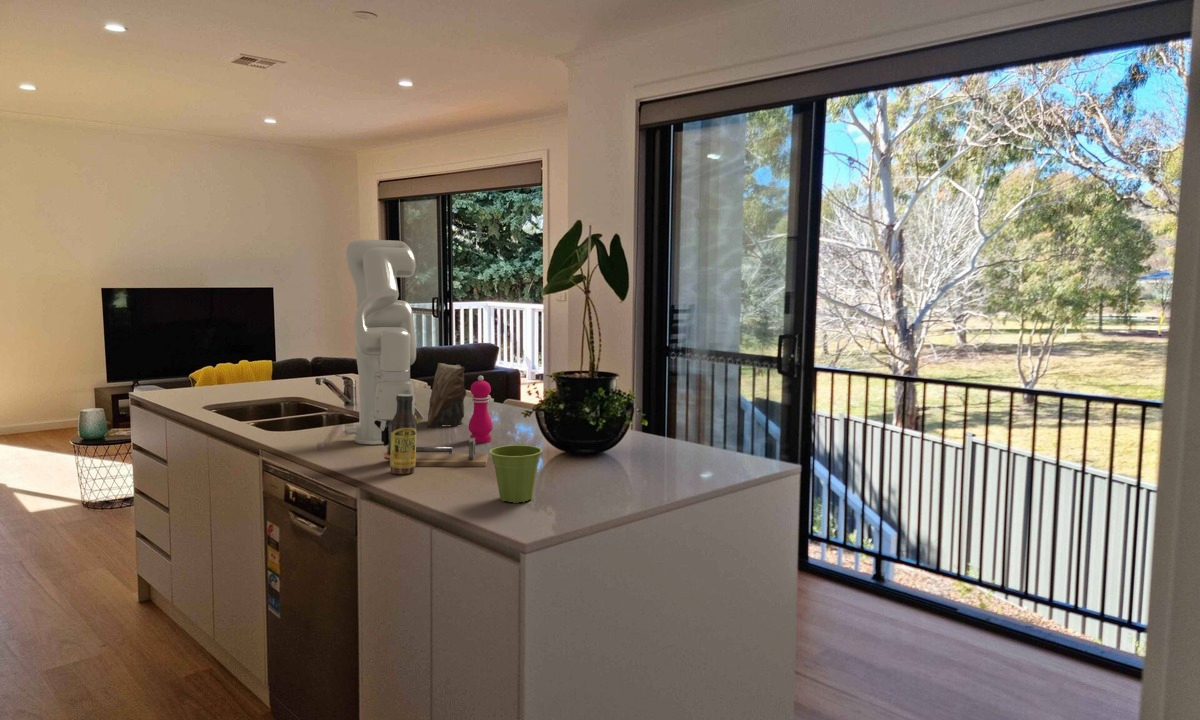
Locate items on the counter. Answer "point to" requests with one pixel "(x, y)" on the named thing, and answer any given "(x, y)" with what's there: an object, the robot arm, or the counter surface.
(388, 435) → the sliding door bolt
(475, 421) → the pepper mill
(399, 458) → the sauce bottle
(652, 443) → the counter surface
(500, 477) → the plant pot
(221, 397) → the counter surface
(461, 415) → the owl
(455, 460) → the board
